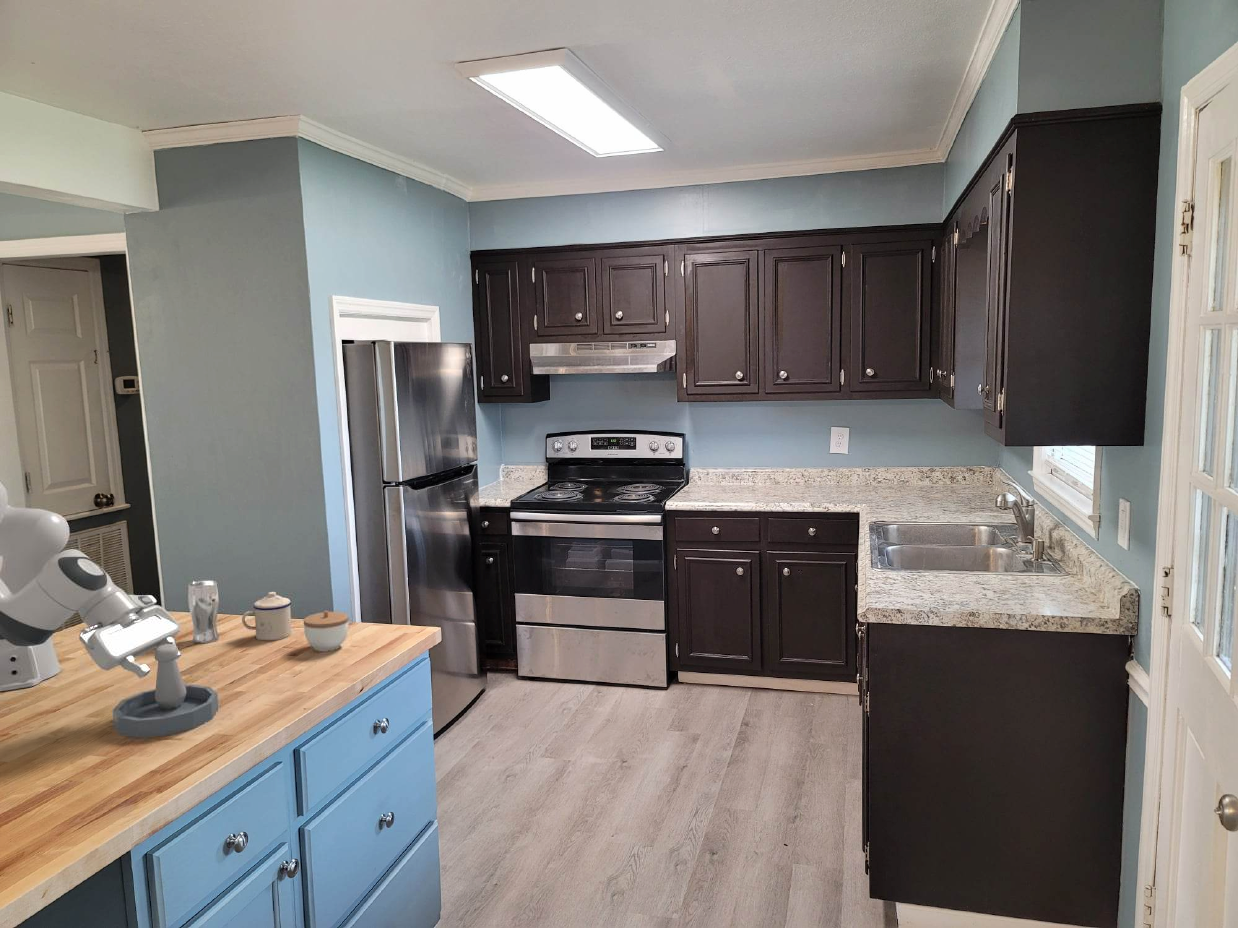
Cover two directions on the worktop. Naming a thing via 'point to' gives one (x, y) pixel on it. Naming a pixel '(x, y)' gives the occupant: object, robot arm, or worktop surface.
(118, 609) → the robot arm
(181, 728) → the bowl
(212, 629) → the beer glass
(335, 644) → the lidded jar
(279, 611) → the teacup with lid
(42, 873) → the worktop surface
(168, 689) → the salt shaker
